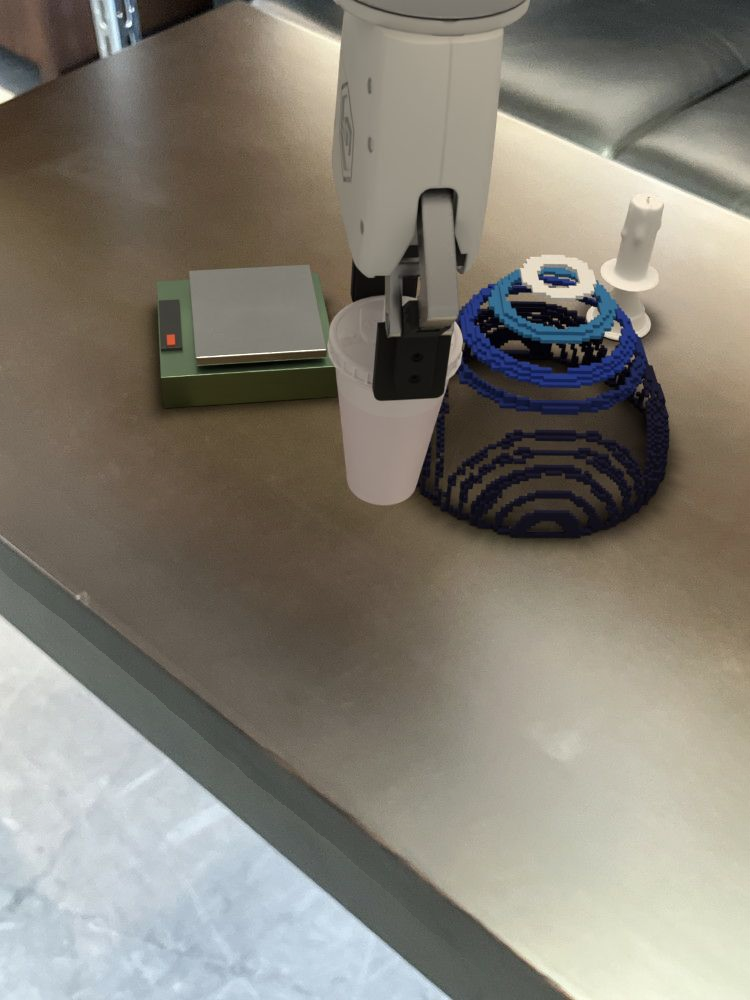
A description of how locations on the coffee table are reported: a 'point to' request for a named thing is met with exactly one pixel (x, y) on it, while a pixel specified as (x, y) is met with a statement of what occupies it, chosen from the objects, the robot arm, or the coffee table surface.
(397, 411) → the smoothie
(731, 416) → the coffee table surface
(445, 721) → the coffee table surface
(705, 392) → the coffee table surface
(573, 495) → the decorative bowl
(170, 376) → the scale
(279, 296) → the scale platform
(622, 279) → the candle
